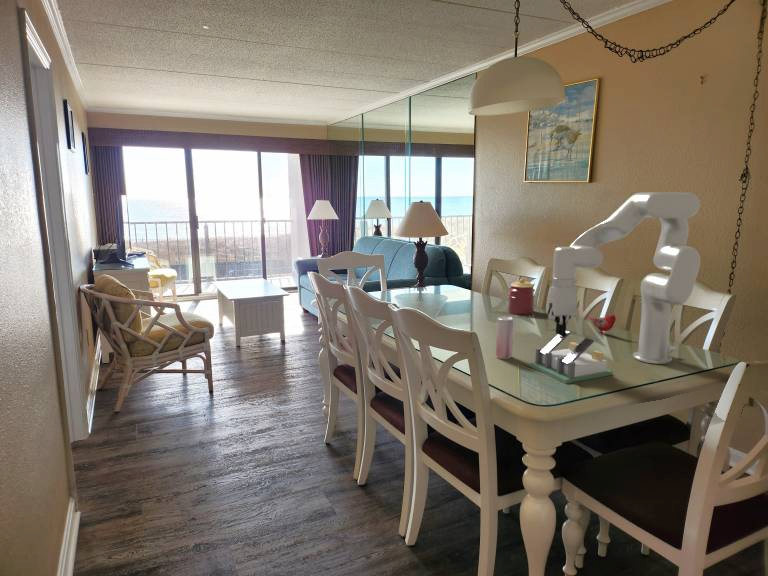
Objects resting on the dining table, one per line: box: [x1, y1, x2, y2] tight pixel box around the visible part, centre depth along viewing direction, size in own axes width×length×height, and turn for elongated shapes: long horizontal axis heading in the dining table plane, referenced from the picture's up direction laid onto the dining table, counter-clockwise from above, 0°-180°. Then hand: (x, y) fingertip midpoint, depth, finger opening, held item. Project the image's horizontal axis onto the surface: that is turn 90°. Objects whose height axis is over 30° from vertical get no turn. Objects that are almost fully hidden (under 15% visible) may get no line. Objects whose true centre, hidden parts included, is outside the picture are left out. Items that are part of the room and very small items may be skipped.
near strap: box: [562, 337, 595, 365], centre depth 170 cm, size 12×3×1 cm
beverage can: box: [495, 316, 514, 360], centre depth 191 cm, size 6×6×15 cm
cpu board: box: [529, 341, 614, 384], centre depth 177 cm, size 20×18×7 cm
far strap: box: [540, 330, 571, 355], centre depth 180 cm, size 12×3×1 cm
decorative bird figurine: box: [586, 313, 617, 336], centre depth 222 cm, size 3×18×10 cm, turn 19°
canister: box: [507, 277, 536, 316], centre depth 262 cm, size 13×13×18 cm
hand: (560, 334), depth 180 cm, fingers closed
